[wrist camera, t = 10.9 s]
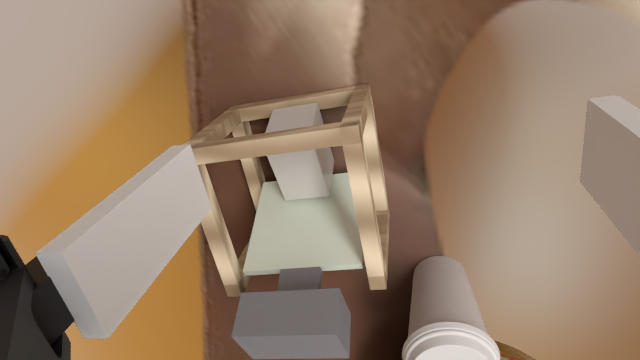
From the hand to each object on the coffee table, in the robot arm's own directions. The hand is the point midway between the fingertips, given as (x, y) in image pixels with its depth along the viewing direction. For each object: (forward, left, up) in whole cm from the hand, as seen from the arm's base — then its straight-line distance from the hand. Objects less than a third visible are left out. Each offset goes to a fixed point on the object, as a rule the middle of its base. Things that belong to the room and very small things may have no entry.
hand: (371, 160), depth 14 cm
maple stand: (+12, -11, -32) cm, 36 cm away
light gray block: (+13, -11, -29) cm, 34 cm away
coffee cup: (+30, +2, -32) cm, 44 cm away
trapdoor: (+20, -11, -22) cm, 31 cm away
